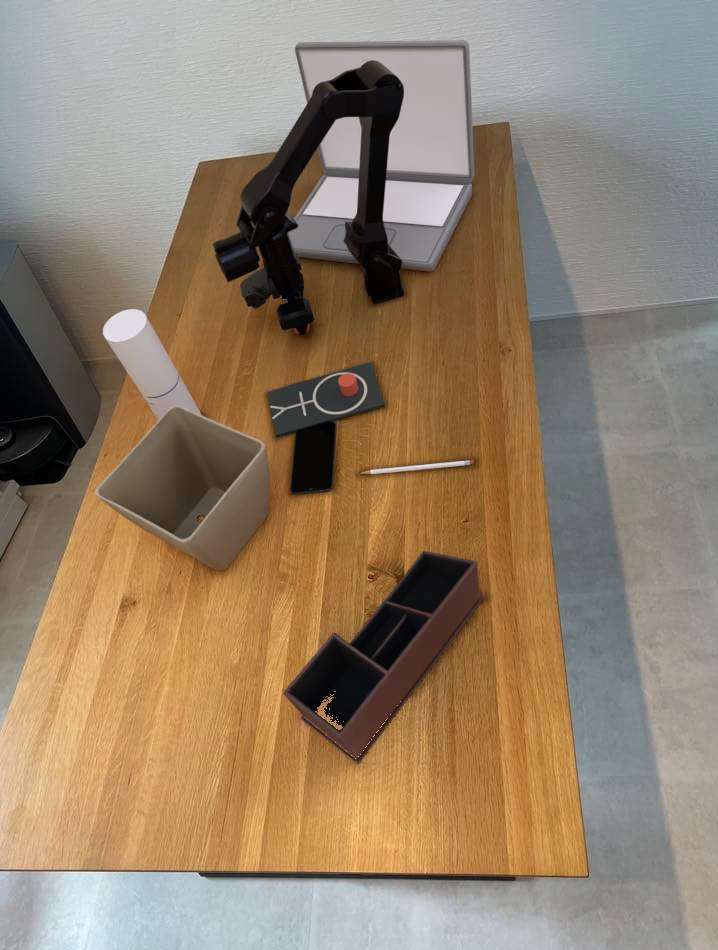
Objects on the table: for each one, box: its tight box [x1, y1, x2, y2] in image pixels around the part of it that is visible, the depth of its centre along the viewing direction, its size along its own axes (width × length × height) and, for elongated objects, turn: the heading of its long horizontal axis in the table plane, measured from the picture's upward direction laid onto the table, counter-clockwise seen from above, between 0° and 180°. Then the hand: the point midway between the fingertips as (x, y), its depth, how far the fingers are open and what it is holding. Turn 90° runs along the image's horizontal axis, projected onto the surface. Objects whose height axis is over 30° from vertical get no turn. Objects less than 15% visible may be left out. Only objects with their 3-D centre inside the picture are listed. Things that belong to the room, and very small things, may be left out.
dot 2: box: [338, 373, 358, 396], centre depth 121 cm, size 3×3×2 cm
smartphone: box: [290, 421, 337, 496], centre depth 117 cm, size 7×1×15 cm
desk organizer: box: [283, 550, 486, 766], centre depth 91 cm, size 10×29×11 cm, turn 141°
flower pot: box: [94, 405, 271, 572], centre depth 106 cm, size 19×19×17 cm
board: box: [266, 361, 386, 439], centre depth 123 cm, size 20×11×1 cm, turn 101°
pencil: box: [361, 459, 475, 475], centre depth 112 cm, size 1×19×1 cm, turn 88°
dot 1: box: [293, 324, 311, 335], centre depth 134 cm, size 3×3×2 cm
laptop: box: [288, 39, 476, 273], centre depth 135 cm, size 36×28×29 cm
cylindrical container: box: [102, 308, 202, 421], centre depth 116 cm, size 7×7×25 cm
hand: (301, 324), depth 134 cm, fingers open, 5 cm apart
